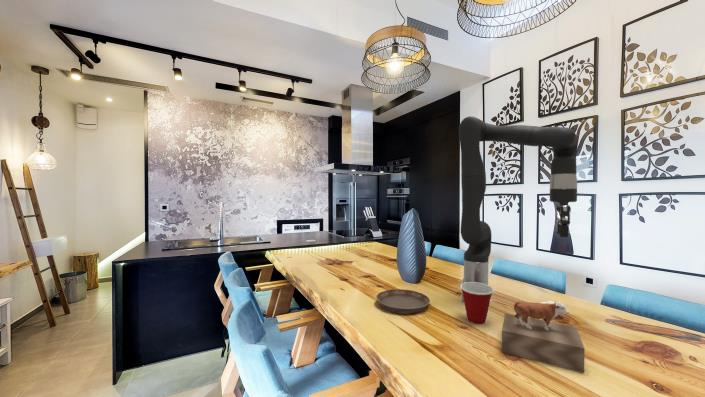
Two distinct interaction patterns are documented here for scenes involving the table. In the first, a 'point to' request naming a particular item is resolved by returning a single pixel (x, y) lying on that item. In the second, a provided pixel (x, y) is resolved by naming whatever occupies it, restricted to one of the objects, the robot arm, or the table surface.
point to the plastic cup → (476, 301)
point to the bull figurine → (538, 312)
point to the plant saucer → (403, 301)
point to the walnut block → (544, 343)
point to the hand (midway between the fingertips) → (562, 235)
